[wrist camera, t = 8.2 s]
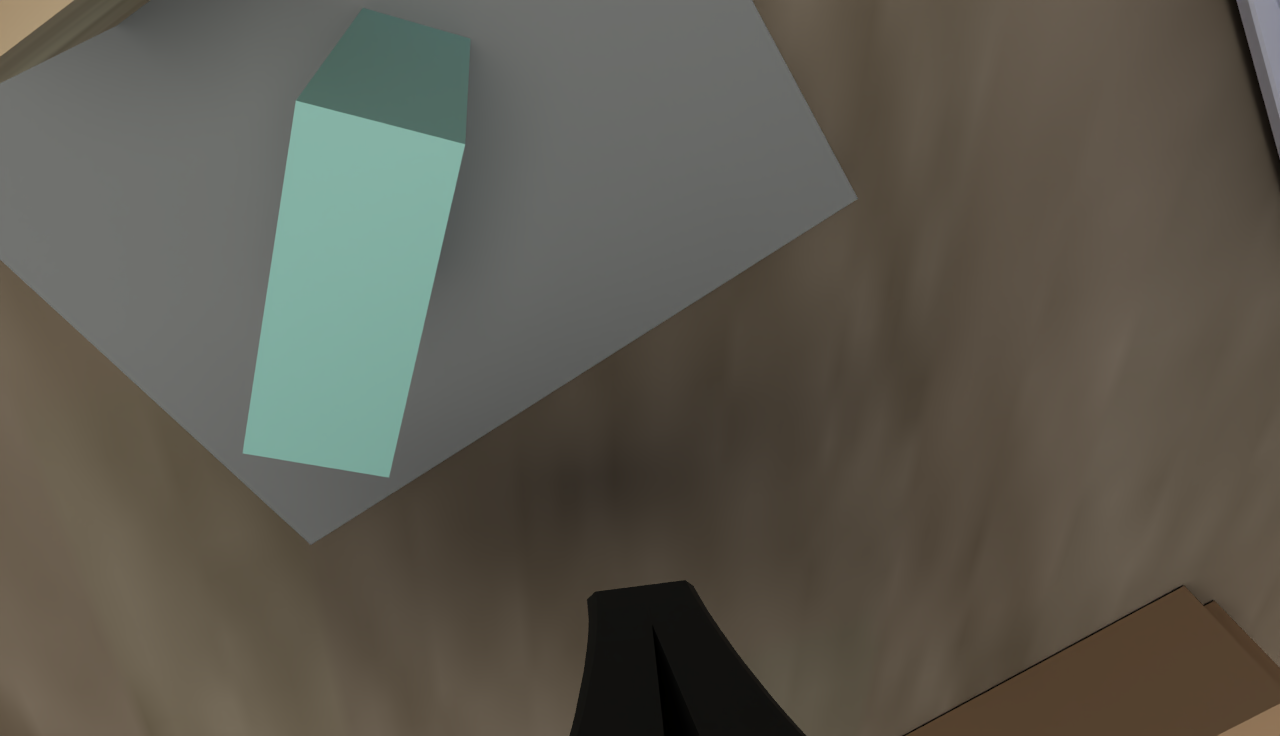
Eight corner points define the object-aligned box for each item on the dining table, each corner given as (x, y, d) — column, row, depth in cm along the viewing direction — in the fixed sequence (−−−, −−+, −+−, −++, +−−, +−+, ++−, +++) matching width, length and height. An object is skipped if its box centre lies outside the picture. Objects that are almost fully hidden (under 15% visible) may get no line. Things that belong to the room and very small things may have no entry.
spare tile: (470, 39, 15) (465, 144, 10) (417, 276, 16) (388, 477, 11) (362, 7, 14) (296, 101, 9) (320, 255, 16) (241, 453, 11)
